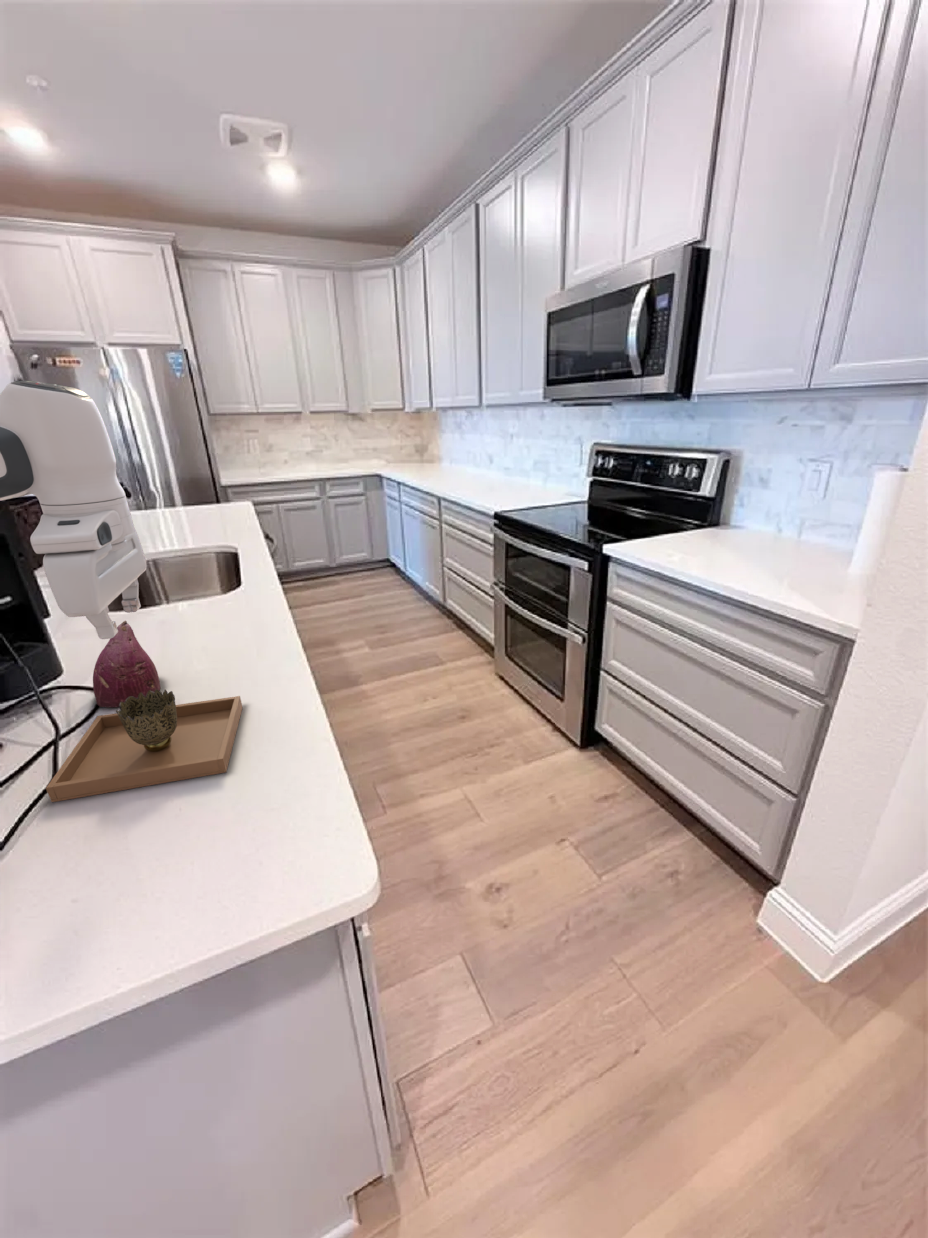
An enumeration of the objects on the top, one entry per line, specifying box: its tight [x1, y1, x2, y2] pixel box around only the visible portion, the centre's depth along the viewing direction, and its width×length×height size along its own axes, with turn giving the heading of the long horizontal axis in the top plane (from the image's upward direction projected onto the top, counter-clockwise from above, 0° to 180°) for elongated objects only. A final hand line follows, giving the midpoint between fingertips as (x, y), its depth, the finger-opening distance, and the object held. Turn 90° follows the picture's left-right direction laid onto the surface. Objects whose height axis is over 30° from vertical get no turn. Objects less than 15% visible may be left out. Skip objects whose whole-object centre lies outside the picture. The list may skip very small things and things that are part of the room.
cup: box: [115, 688, 177, 752], centre depth 76 cm, size 8×7×8 cm
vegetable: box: [92, 620, 161, 708], centre depth 92 cm, size 10×10×15 cm
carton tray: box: [45, 695, 243, 803], centre depth 77 cm, size 22×18×2 cm
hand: (122, 622), depth 69 cm, fingers open, 8 cm apart
